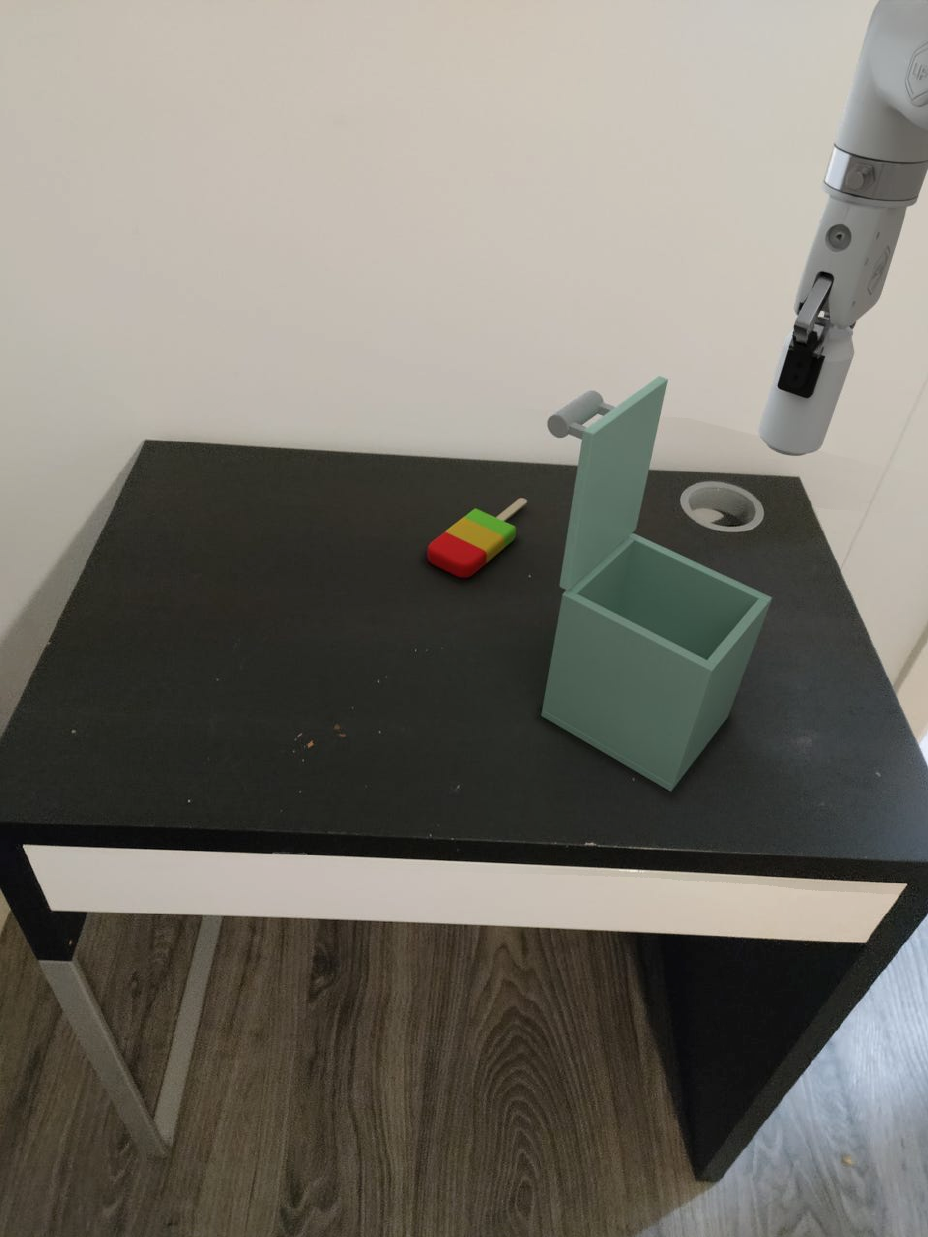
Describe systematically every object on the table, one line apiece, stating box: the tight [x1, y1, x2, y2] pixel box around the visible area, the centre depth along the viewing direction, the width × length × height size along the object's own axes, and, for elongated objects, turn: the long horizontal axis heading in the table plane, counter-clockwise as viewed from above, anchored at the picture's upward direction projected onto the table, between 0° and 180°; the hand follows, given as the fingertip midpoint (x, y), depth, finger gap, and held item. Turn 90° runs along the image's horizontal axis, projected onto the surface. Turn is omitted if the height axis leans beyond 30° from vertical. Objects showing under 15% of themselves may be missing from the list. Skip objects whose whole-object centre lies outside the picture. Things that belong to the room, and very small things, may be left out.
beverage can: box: [757, 316, 855, 457], centre depth 87 cm, size 6×6×12 cm
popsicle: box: [426, 497, 528, 579], centre depth 98 cm, size 6×15×2 cm, turn 145°
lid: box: [547, 375, 669, 591], centre depth 70 cm, size 14×11×5 cm
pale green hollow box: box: [540, 532, 773, 792], centre depth 76 cm, size 13×11×14 cm
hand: (809, 378), depth 87 cm, fingers closed on beverage can, 6 cm apart
